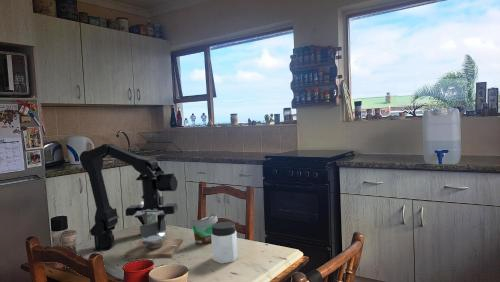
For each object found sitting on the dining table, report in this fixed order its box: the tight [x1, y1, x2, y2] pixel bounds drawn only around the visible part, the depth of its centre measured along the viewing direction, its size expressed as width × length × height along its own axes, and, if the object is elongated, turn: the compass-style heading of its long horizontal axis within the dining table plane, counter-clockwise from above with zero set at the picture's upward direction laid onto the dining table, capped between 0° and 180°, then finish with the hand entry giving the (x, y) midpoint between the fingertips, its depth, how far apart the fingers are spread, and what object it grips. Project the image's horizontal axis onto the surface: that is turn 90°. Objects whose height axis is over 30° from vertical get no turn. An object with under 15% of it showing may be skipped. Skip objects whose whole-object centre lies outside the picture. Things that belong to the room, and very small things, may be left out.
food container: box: [191, 212, 219, 246], centre depth 146 cm, size 12×6×10 cm, turn 143°
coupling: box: [139, 219, 167, 245], centre depth 141 cm, size 11×9×7 cm
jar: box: [211, 221, 239, 264], centre depth 127 cm, size 9×8×12 cm
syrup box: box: [139, 200, 157, 223], centre depth 161 cm, size 6×6×14 cm
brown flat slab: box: [122, 238, 184, 259], centre depth 141 cm, size 18×16×3 cm
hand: (153, 231), depth 141 cm, fingers closed on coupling, 4 cm apart
